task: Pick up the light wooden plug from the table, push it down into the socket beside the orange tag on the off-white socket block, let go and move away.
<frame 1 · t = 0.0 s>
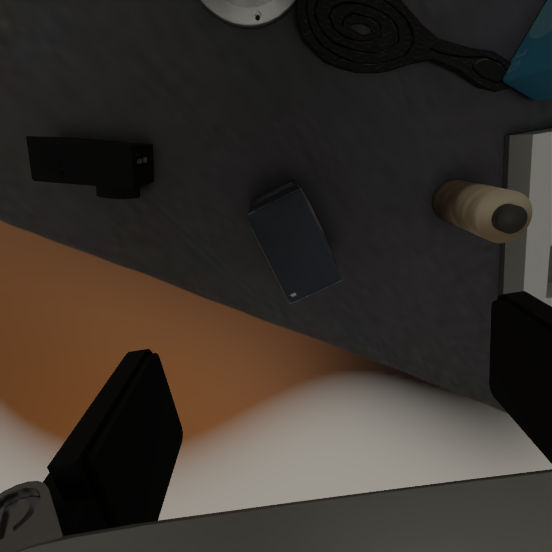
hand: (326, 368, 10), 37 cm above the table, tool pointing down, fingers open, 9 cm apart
hairbrush: (405, 47, 40), on the table, touching data package
digital camera: (110, 165, 44), on the table
small box: (291, 227, 47), on the table
socket block: (550, 218, 46), on the table
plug: (452, 200, 45), on the table
data package: (545, 38, 40), on the table, touching hairbrush
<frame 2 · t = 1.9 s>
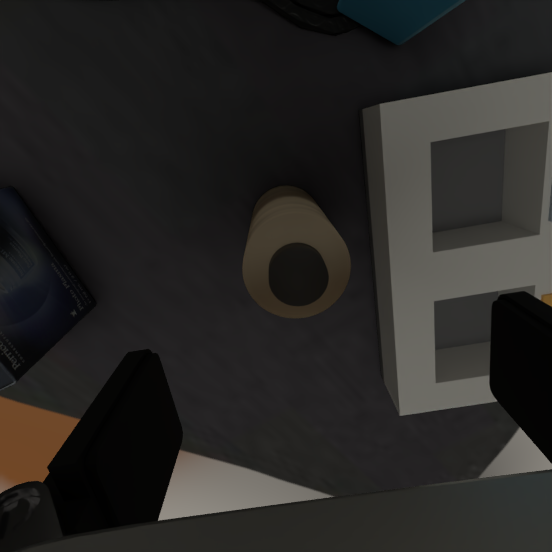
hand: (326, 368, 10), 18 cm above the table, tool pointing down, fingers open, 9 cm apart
small box: (29, 263, 28), on the table
socket block: (449, 247, 28), on the table
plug: (285, 219, 27), on the table
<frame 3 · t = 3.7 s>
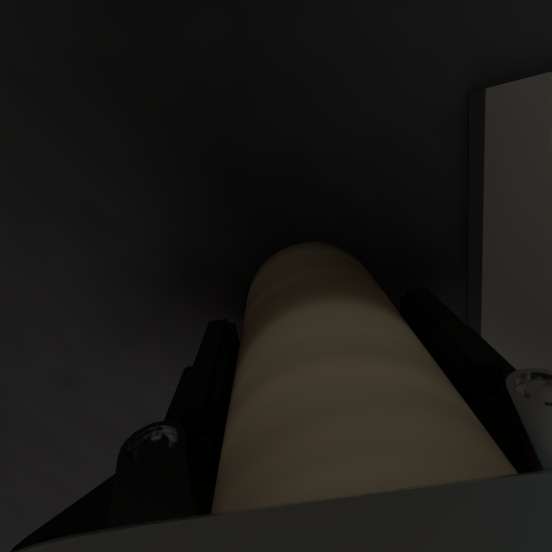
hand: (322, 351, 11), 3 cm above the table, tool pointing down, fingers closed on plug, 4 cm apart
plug: (311, 304, 14), on the table, touching gripper
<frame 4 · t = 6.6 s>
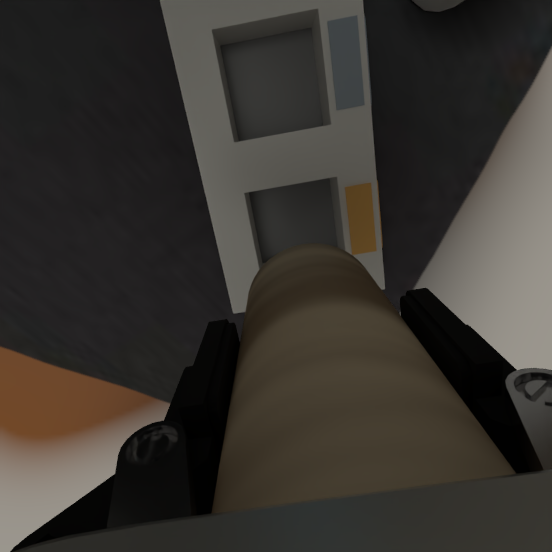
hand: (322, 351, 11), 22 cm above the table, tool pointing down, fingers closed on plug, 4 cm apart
socket block: (284, 156, 30), on the table
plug: (311, 305, 14), point 18 cm above the table, touching gripper
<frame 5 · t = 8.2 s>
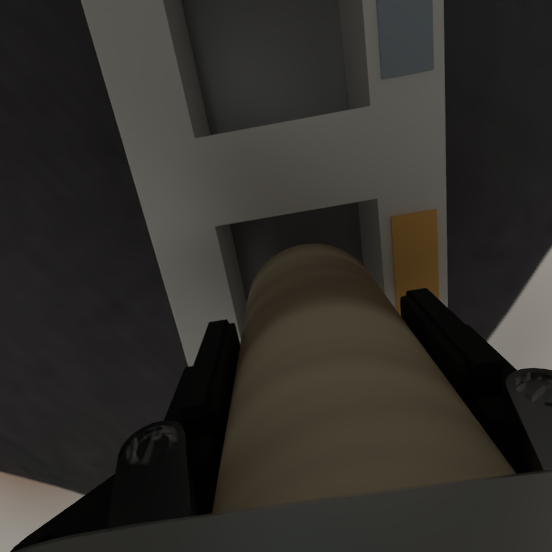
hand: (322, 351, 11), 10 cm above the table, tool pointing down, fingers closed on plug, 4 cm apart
socket block: (284, 162, 19), on the table
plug: (311, 305, 14), point 7 cm above the table, touching gripper
when the fingers open (6 cm above the table, at t = 9.3 s): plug drops 2 cm, resting on socket block.
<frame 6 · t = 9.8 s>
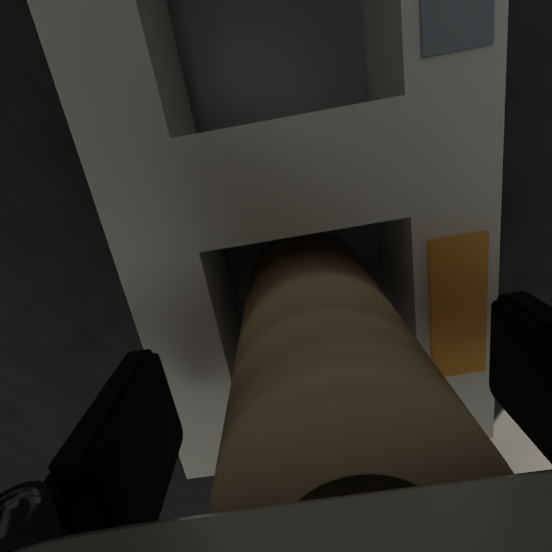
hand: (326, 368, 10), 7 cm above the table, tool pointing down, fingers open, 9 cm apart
socket block: (288, 168, 16), on the table
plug: (306, 286, 16), point 1 cm above the table, touching socket block
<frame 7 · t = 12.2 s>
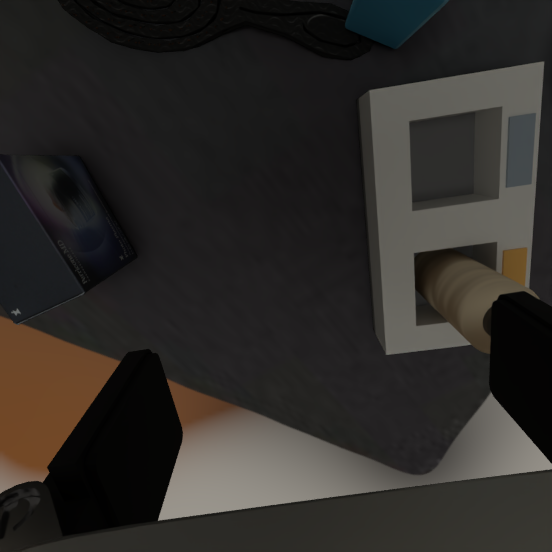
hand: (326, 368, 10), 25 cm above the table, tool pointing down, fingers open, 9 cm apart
hairbrush: (219, 11, 30), on the table
small box: (85, 220, 35), on the table
socket block: (431, 216, 34), on the table
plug: (436, 271, 34), point 1 cm above the table, touching socket block
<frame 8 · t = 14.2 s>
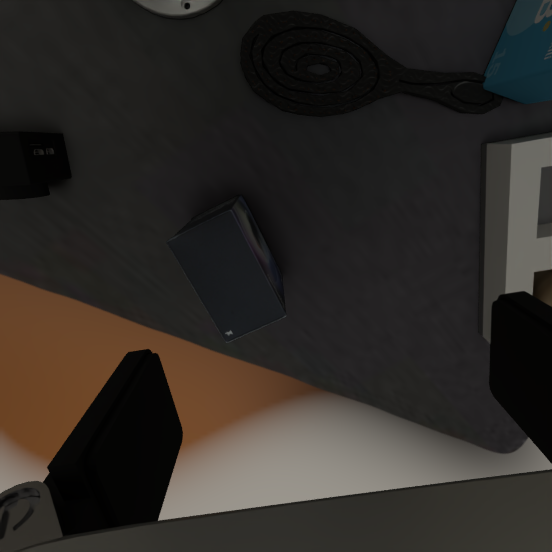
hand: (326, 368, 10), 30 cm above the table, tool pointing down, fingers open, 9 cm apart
hairbrush: (372, 79, 36), on the table
digital camera: (19, 163, 38), on the table
small box: (239, 247, 41), on the table
socket block: (535, 237, 40), on the table
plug: (538, 283, 41), point 1 cm above the table, touching socket block
data package: (527, 30, 34), on the table
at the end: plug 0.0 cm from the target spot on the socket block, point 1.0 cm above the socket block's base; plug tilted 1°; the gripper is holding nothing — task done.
